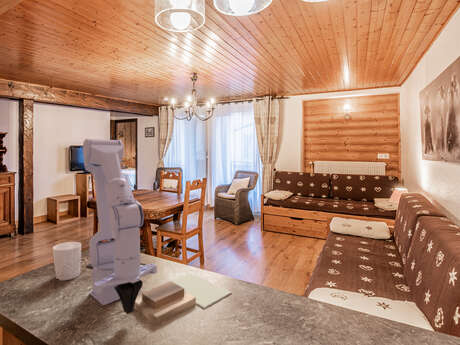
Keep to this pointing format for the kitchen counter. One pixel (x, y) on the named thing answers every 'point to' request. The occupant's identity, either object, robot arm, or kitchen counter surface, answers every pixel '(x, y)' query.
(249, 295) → the kitchen counter surface
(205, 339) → the kitchen counter surface
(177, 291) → the walnut tile
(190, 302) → the block
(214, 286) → the sage mat
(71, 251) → the white cup
